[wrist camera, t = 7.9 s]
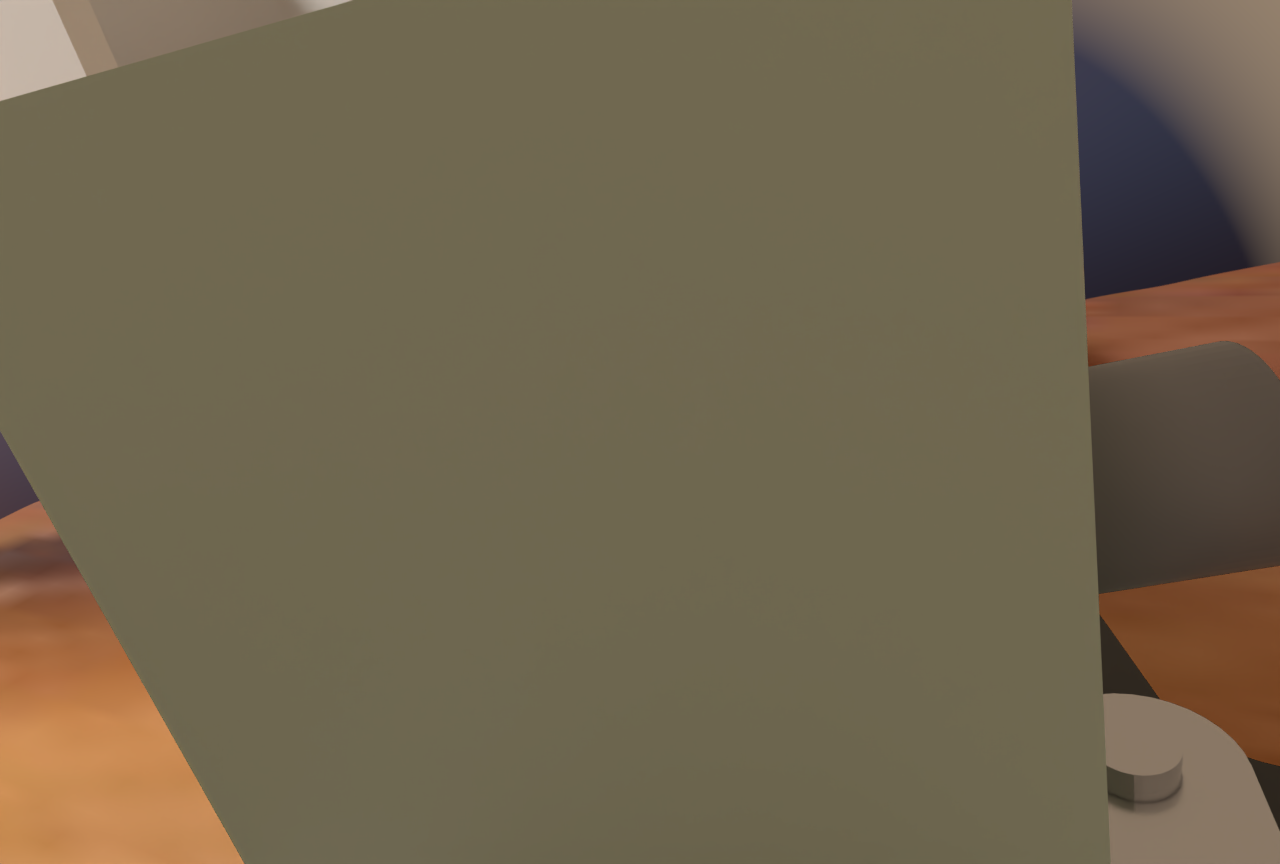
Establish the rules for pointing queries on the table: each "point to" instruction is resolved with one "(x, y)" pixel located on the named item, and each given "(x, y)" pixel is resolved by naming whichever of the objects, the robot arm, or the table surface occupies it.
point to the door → (610, 427)
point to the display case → (118, 33)
